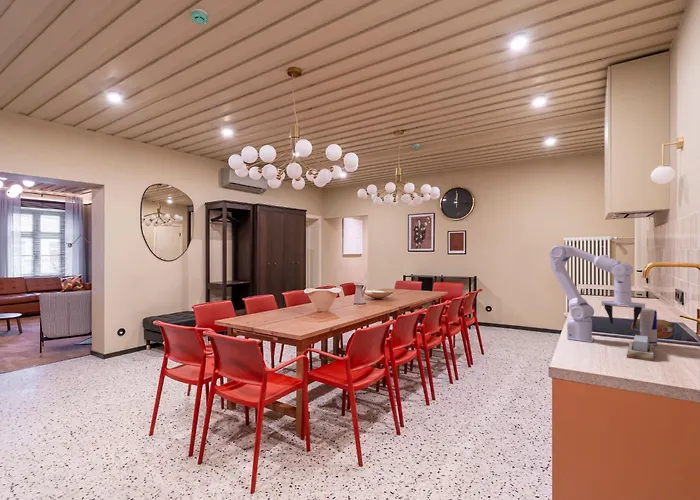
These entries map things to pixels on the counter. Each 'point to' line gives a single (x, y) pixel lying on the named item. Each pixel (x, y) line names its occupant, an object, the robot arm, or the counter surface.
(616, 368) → the counter surface
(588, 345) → the counter surface
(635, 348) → the grey box
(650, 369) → the counter surface
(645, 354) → the framed wooden panel
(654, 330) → the beverage can
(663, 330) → the tin
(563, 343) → the counter surface
